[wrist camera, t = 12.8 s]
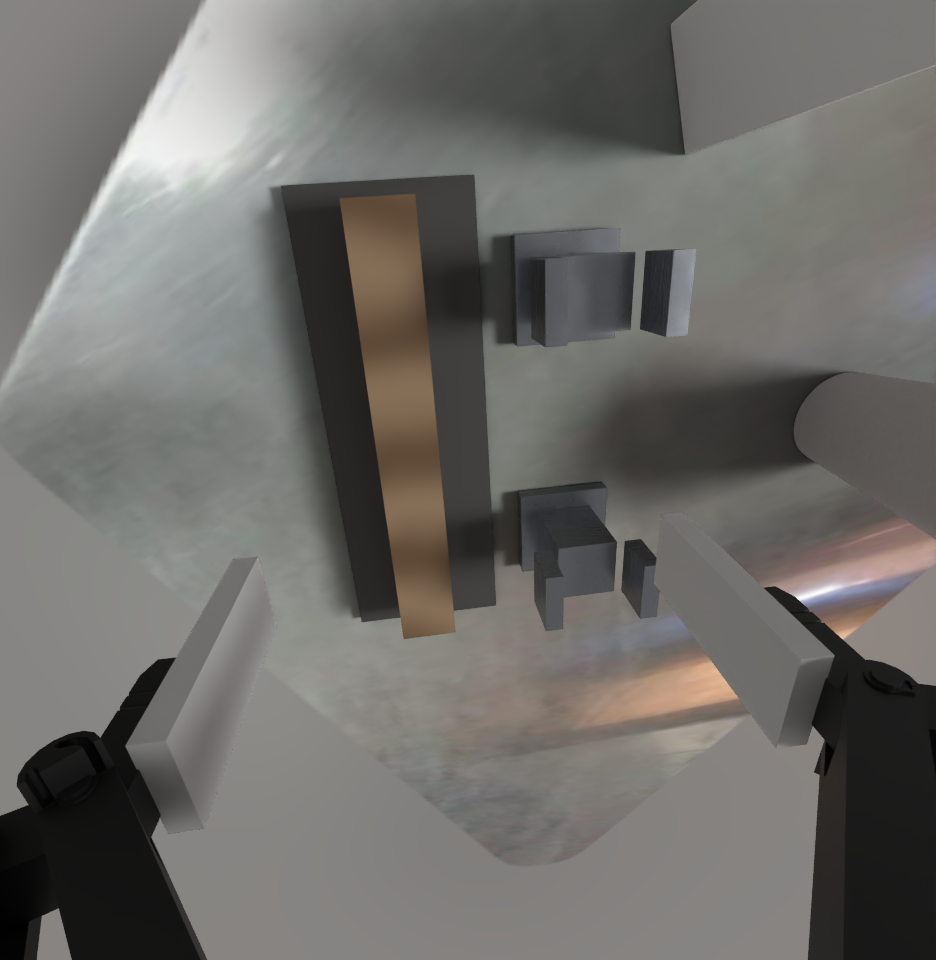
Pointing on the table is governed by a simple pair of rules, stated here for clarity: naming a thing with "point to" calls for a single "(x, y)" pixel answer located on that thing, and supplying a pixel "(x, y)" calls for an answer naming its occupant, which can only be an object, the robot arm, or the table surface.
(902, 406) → the coffee cup
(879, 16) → the milk
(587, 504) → the post
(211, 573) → the table surface
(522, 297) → the post
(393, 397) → the rail
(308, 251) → the mat
